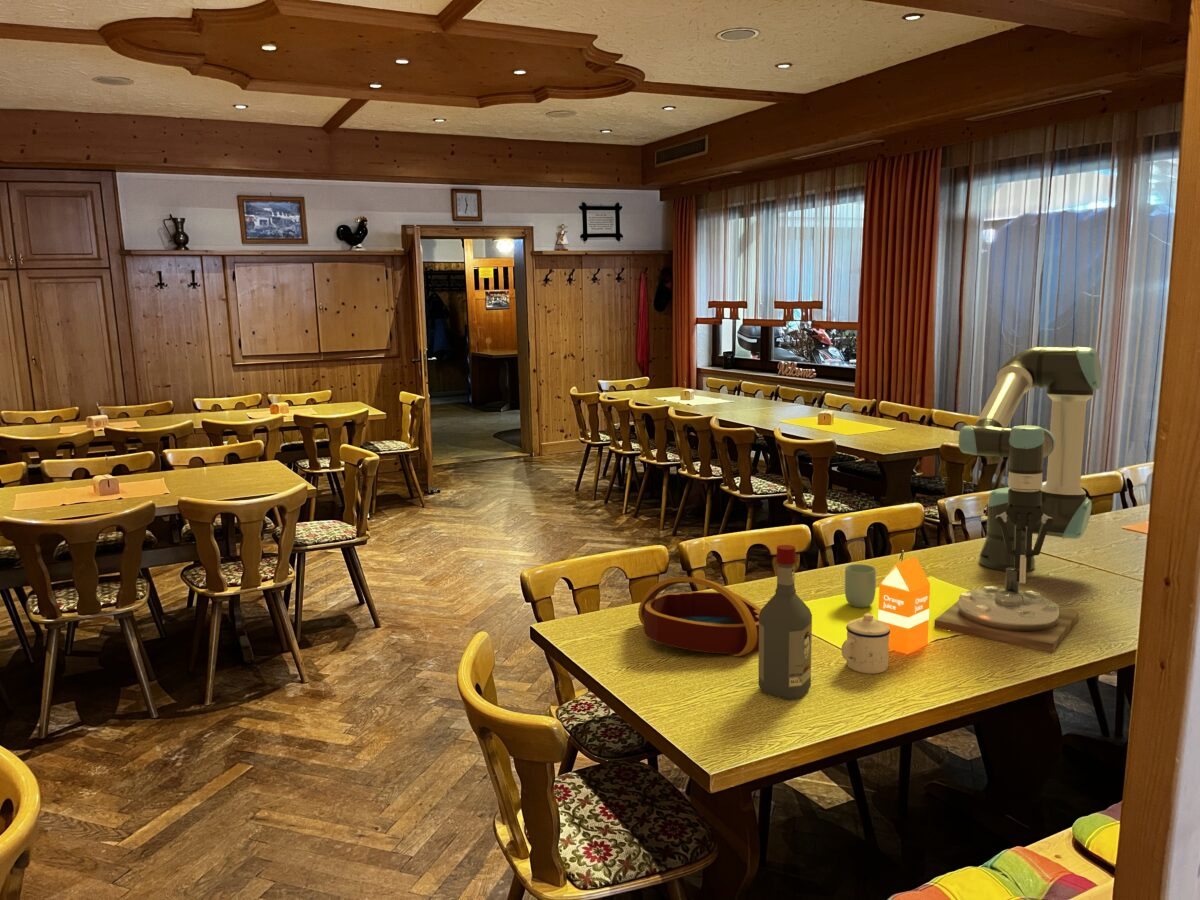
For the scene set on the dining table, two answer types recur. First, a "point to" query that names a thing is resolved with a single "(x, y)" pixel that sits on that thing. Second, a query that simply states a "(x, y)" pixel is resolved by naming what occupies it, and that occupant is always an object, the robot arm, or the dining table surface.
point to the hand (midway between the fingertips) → (1021, 581)
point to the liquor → (785, 635)
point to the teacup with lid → (867, 645)
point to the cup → (860, 585)
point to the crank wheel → (1009, 607)
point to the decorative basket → (700, 618)
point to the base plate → (1031, 639)
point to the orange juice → (905, 606)
